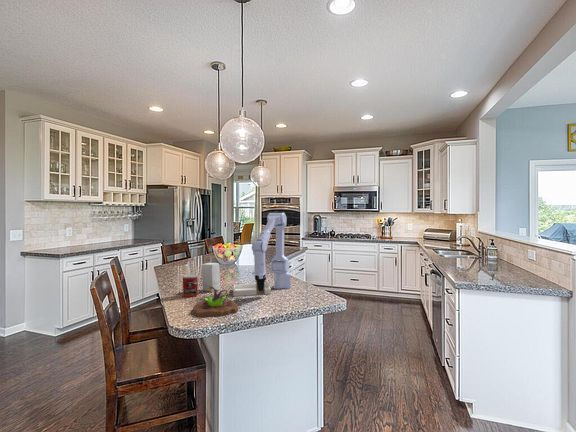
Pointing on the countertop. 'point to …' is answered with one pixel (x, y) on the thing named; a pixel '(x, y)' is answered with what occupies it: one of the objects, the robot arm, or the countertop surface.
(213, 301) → the plant
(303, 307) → the countertop surface
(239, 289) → the tray
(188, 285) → the canned food
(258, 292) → the walnut block
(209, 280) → the skincare box
